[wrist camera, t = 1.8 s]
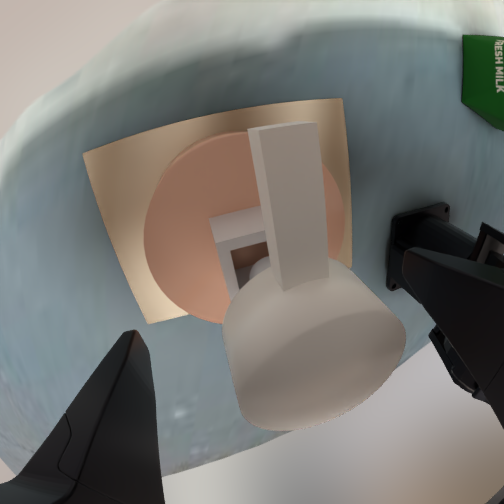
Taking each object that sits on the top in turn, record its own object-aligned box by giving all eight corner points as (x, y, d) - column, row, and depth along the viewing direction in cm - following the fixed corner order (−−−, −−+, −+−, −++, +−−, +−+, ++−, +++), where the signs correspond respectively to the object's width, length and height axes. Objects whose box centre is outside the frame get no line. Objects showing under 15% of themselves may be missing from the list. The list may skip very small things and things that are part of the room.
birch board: (336, 98, 14) (342, 98, 13) (347, 262, 19) (351, 266, 19) (86, 152, 12) (82, 153, 12) (148, 318, 17) (148, 324, 17)
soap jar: (304, 118, 13) (371, 123, 8) (318, 264, 18) (367, 321, 13) (131, 156, 12) (97, 180, 7) (179, 303, 17) (184, 378, 11)
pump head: (308, 113, 8) (432, 123, 3) (324, 301, 11) (389, 392, 7) (172, 139, 7) (154, 163, 3) (225, 331, 10) (256, 444, 6)
